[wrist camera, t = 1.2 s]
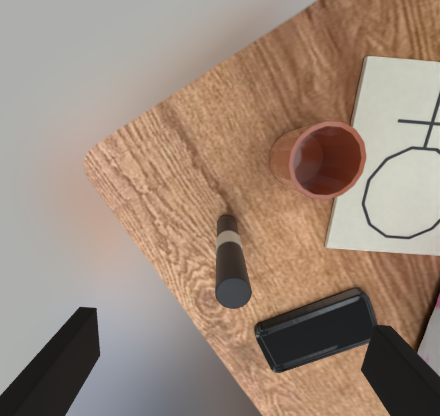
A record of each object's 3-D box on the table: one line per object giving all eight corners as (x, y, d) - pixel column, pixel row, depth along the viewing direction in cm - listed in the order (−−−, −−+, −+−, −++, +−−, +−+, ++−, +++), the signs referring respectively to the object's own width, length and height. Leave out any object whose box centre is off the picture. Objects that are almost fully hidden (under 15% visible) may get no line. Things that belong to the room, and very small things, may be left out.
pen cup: (273, 127, 23) (295, 117, 16) (329, 131, 23) (374, 124, 16) (265, 183, 25) (283, 196, 18) (318, 187, 25) (356, 202, 18)
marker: (217, 213, 25) (215, 275, 13) (237, 214, 25) (254, 278, 13) (216, 232, 26) (213, 308, 13) (235, 233, 26) (250, 311, 14)
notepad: (363, 58, 21) (368, 54, 21) (522, 71, 22) (531, 69, 21) (324, 246, 27) (326, 248, 26) (452, 254, 27) (458, 257, 26)
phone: (253, 332, 28) (367, 291, 27) (251, 325, 29) (361, 285, 28) (274, 375, 30) (382, 339, 29) (272, 367, 31) (376, 332, 30)
